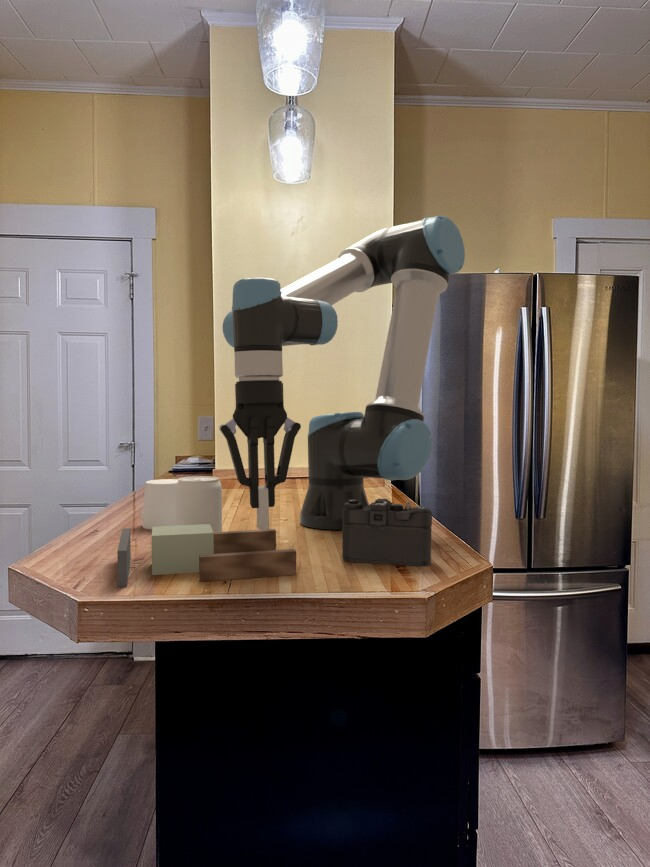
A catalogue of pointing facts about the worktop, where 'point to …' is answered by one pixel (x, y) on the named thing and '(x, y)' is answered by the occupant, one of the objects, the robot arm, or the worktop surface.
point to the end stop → (124, 557)
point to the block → (180, 548)
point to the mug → (159, 503)
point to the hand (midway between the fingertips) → (263, 527)
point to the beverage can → (199, 502)
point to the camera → (386, 533)
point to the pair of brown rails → (246, 556)
